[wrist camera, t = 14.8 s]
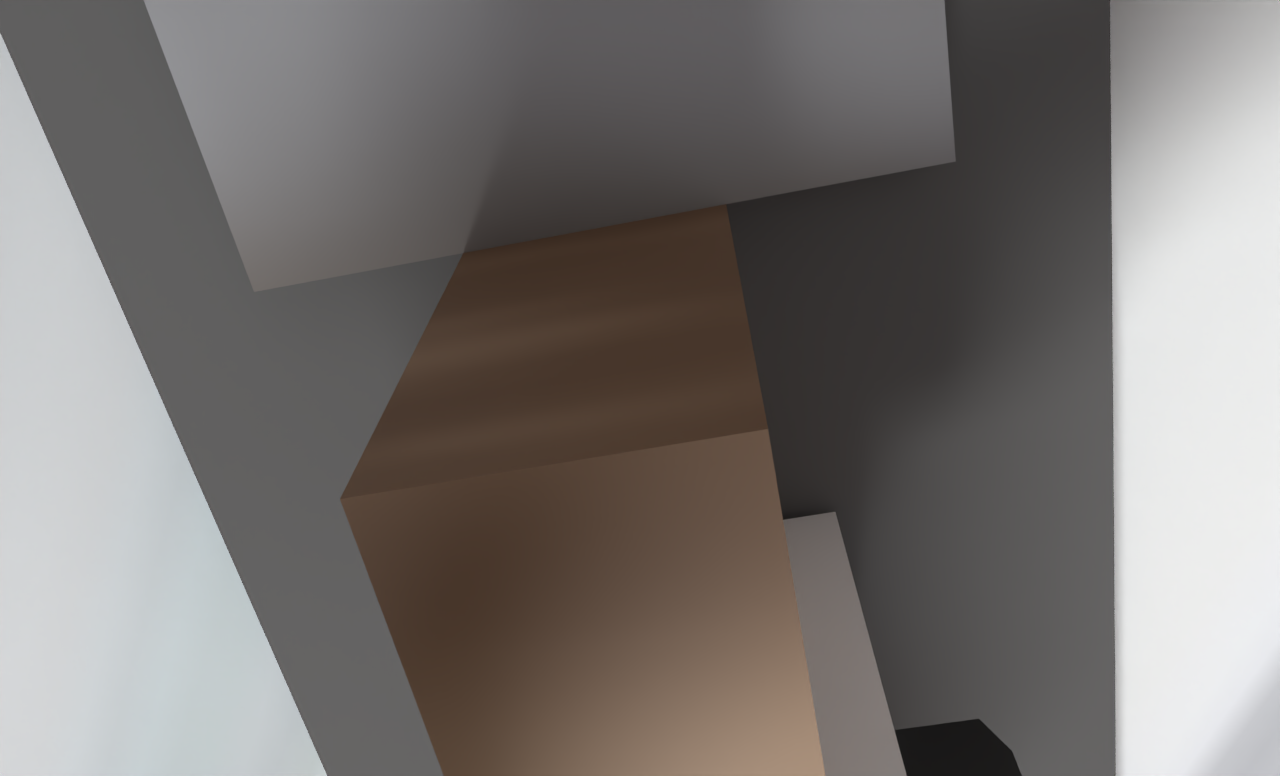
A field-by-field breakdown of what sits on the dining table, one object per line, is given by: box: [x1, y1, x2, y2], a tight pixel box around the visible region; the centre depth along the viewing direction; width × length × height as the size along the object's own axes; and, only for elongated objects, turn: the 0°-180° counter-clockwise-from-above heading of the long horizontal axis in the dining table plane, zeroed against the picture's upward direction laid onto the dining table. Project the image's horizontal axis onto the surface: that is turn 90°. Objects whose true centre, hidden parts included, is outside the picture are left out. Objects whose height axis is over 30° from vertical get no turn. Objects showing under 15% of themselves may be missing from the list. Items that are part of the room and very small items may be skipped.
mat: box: [0, 0, 1115, 776], centre depth 14 cm, size 12×28×1 cm, turn 11°
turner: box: [144, 0, 956, 776], centre depth 11 cm, size 24×8×6 cm, turn 11°
